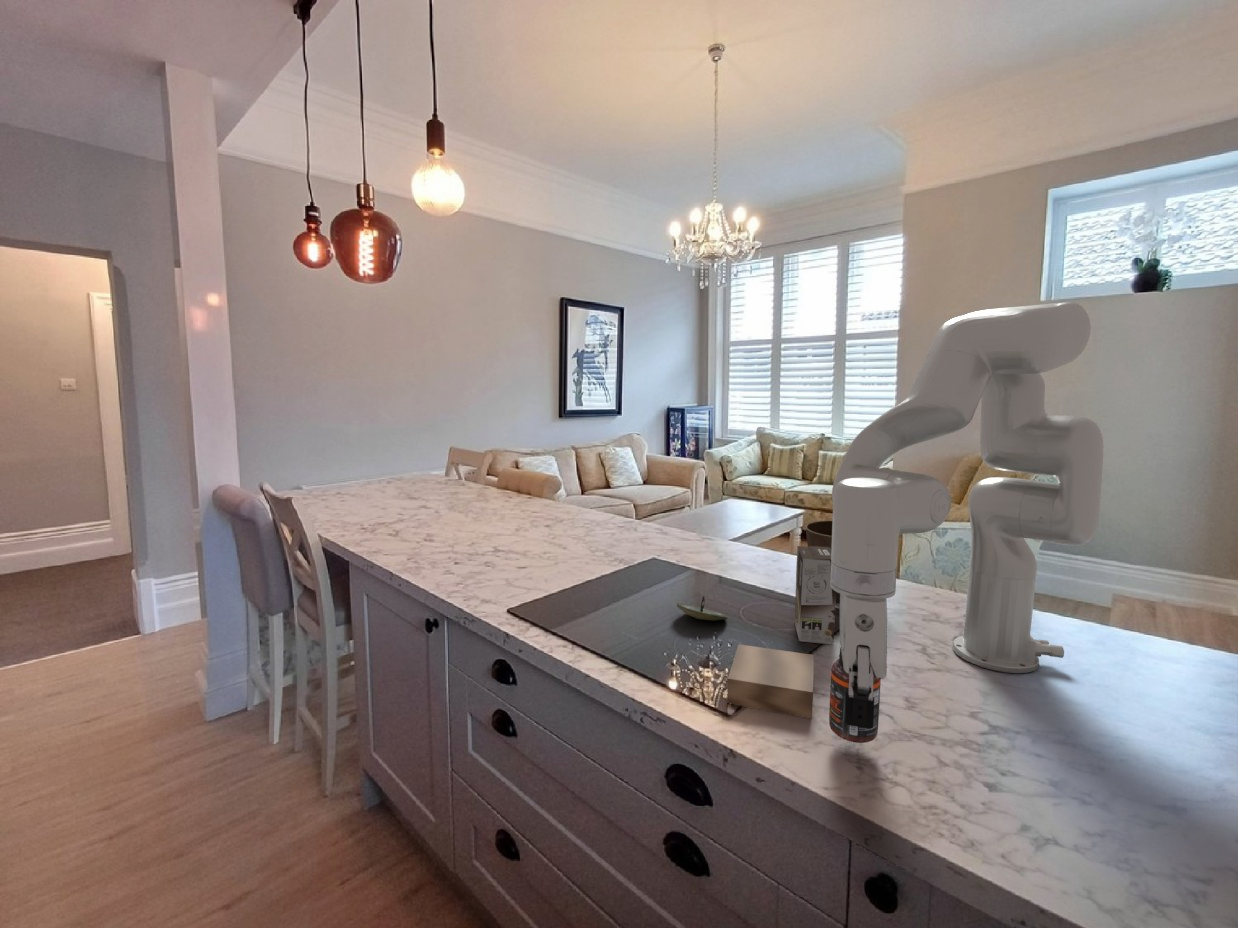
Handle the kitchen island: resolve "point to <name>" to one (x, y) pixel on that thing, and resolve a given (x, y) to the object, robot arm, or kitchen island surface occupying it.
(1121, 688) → the kitchen island surface
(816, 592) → the coffee box
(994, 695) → the kitchen island surface
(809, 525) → the plant pot
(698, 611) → the lid
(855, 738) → the supplement bottle
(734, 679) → the tan block
